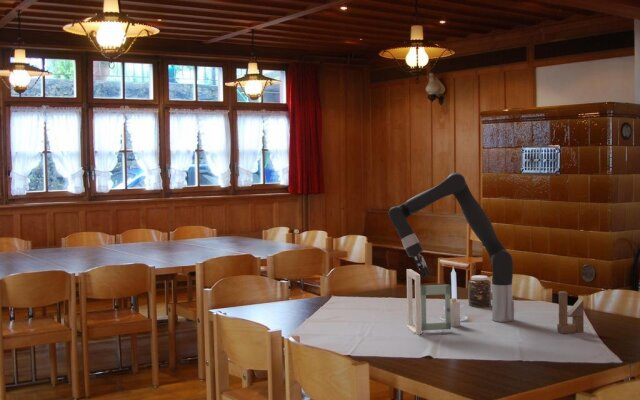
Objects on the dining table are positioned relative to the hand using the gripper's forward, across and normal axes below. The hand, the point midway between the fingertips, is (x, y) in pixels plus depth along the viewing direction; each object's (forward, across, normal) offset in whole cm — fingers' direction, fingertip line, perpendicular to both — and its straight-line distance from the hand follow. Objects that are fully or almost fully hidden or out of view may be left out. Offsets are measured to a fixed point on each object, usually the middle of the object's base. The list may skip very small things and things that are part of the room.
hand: (427, 276), depth 367 cm
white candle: (+26, -2, -2) cm, 26 cm away
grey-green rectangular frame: (+24, -18, +4) cm, 30 cm away
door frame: (+20, -14, +14) cm, 28 cm away
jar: (+24, +47, -11) cm, 54 cm away
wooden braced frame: (+49, -7, -46) cm, 68 cm away
